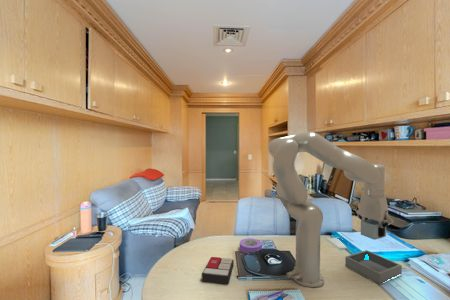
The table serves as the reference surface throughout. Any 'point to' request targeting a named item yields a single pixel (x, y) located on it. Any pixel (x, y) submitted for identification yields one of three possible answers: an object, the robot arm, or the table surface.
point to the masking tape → (250, 245)
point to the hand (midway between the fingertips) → (373, 233)
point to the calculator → (218, 271)
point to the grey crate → (373, 266)
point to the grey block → (370, 229)
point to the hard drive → (337, 243)
